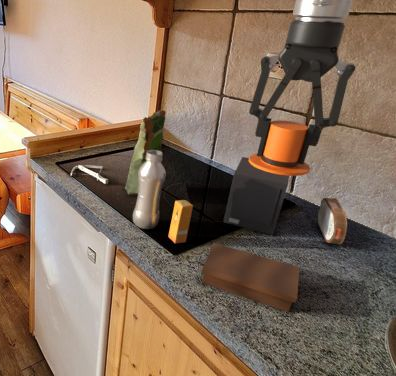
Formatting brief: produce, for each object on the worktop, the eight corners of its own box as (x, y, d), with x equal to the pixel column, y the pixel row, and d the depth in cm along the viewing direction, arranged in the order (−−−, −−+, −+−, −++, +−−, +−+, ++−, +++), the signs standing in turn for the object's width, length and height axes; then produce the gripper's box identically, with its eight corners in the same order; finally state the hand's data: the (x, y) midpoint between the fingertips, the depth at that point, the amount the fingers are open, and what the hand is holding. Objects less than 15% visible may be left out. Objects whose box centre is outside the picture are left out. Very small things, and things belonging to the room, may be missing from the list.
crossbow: (62, 173, 135) (62, 167, 135) (92, 166, 141) (92, 160, 141) (90, 188, 123) (90, 182, 122) (122, 180, 129) (122, 174, 128)
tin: (341, 251, 95) (353, 220, 92) (326, 248, 96) (337, 217, 93) (326, 221, 108) (336, 193, 105) (312, 219, 109) (322, 191, 106)
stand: (294, 282, 84) (299, 267, 82) (291, 314, 75) (297, 297, 74) (210, 257, 92) (213, 242, 90) (199, 283, 83) (202, 267, 81)
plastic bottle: (138, 216, 108) (147, 145, 99) (162, 224, 104) (173, 152, 96) (127, 226, 103) (135, 152, 95) (151, 235, 100) (162, 159, 91)
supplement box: (187, 242, 97) (194, 205, 93) (174, 244, 96) (181, 207, 92) (180, 235, 100) (186, 199, 96) (167, 236, 99) (173, 200, 95)
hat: (309, 162, 75) (322, 123, 72) (308, 180, 68) (322, 137, 64) (252, 151, 80) (261, 114, 77) (244, 167, 72) (254, 127, 69)
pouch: (153, 184, 127) (164, 105, 116) (167, 201, 116) (180, 116, 106) (119, 185, 126) (127, 106, 115) (130, 203, 115) (139, 117, 104)
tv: (277, 212, 112) (291, 165, 106) (272, 236, 101) (287, 185, 95) (232, 201, 117) (242, 156, 112) (222, 222, 106) (233, 174, 100)
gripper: (249, 17, 65) (221, 153, 74) (396, 24, 56) (342, 176, 66) (255, 16, 70) (228, 142, 80) (389, 22, 62) (340, 162, 72)
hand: (280, 157), depth 73 cm, fingers closed on hat, 6 cm apart
